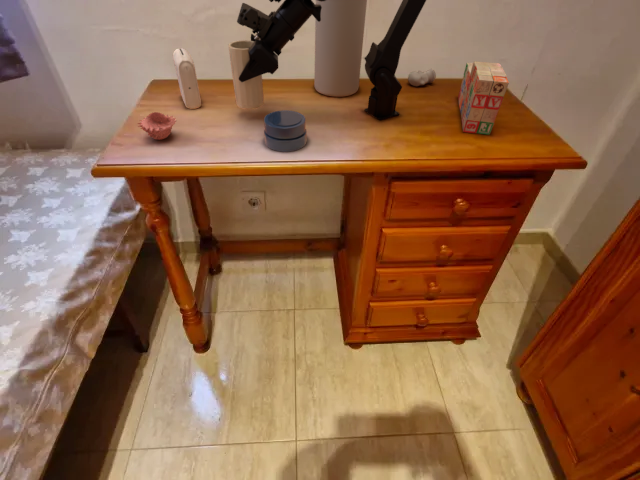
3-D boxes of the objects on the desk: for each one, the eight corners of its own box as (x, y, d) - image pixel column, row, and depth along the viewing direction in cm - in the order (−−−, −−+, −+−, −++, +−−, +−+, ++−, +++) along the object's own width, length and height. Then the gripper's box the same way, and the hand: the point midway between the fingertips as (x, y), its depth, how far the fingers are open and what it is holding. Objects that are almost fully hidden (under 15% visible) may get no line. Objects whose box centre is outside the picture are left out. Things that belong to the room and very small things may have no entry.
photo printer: (203, 107, 95) (193, 55, 87) (186, 110, 94) (174, 57, 85) (196, 93, 102) (187, 43, 93) (180, 95, 100) (169, 44, 92)
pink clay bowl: (144, 130, 85) (136, 106, 81) (181, 128, 86) (175, 104, 83) (140, 147, 79) (131, 122, 76) (179, 144, 81) (173, 119, 77)
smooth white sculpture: (409, 91, 109) (404, 80, 112) (435, 89, 111) (429, 78, 113) (413, 78, 106) (408, 67, 108) (440, 77, 107) (434, 65, 109)
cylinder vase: (334, 78, 113) (340, -23, 96) (367, 89, 107) (379, -16, 90) (305, 88, 106) (305, -18, 89) (337, 101, 100) (344, -10, 83)
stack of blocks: (457, 97, 104) (470, 49, 96) (480, 99, 103) (495, 51, 95) (462, 132, 88) (479, 78, 80) (490, 135, 88) (509, 81, 79)
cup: (256, 96, 94) (251, 38, 85) (268, 105, 90) (264, 46, 81) (232, 101, 91) (223, 42, 82) (243, 111, 87) (235, 50, 78)
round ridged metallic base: (293, 128, 88) (293, 105, 84) (314, 145, 82) (314, 121, 78) (257, 137, 84) (255, 114, 80) (276, 155, 78) (275, 131, 75)
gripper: (259, -20, 82) (216, 36, 88) (256, -3, 68) (205, 62, 75) (296, 21, 88) (253, 70, 94) (300, 44, 74) (249, 100, 81)
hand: (241, 75), depth 86 cm, fingers closed on cup, 7 cm apart
